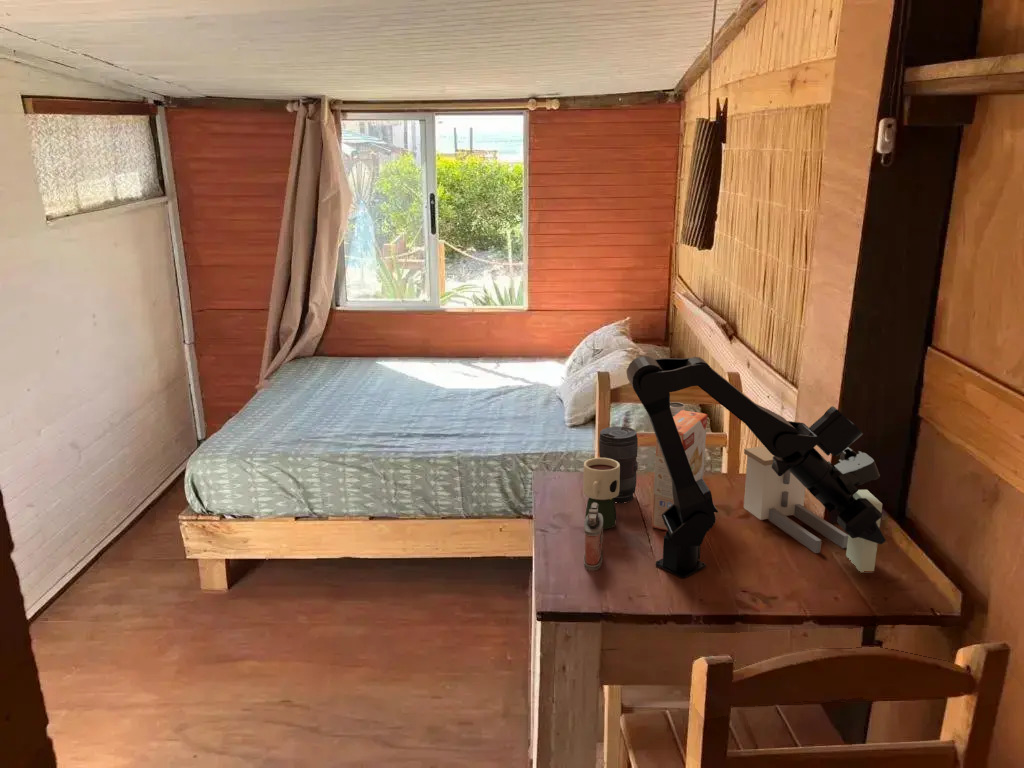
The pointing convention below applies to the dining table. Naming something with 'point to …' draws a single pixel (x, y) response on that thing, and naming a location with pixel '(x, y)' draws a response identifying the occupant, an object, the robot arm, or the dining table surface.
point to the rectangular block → (863, 540)
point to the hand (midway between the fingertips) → (871, 530)
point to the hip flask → (593, 538)
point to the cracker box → (694, 445)
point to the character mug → (602, 487)
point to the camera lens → (621, 457)
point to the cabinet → (783, 501)
